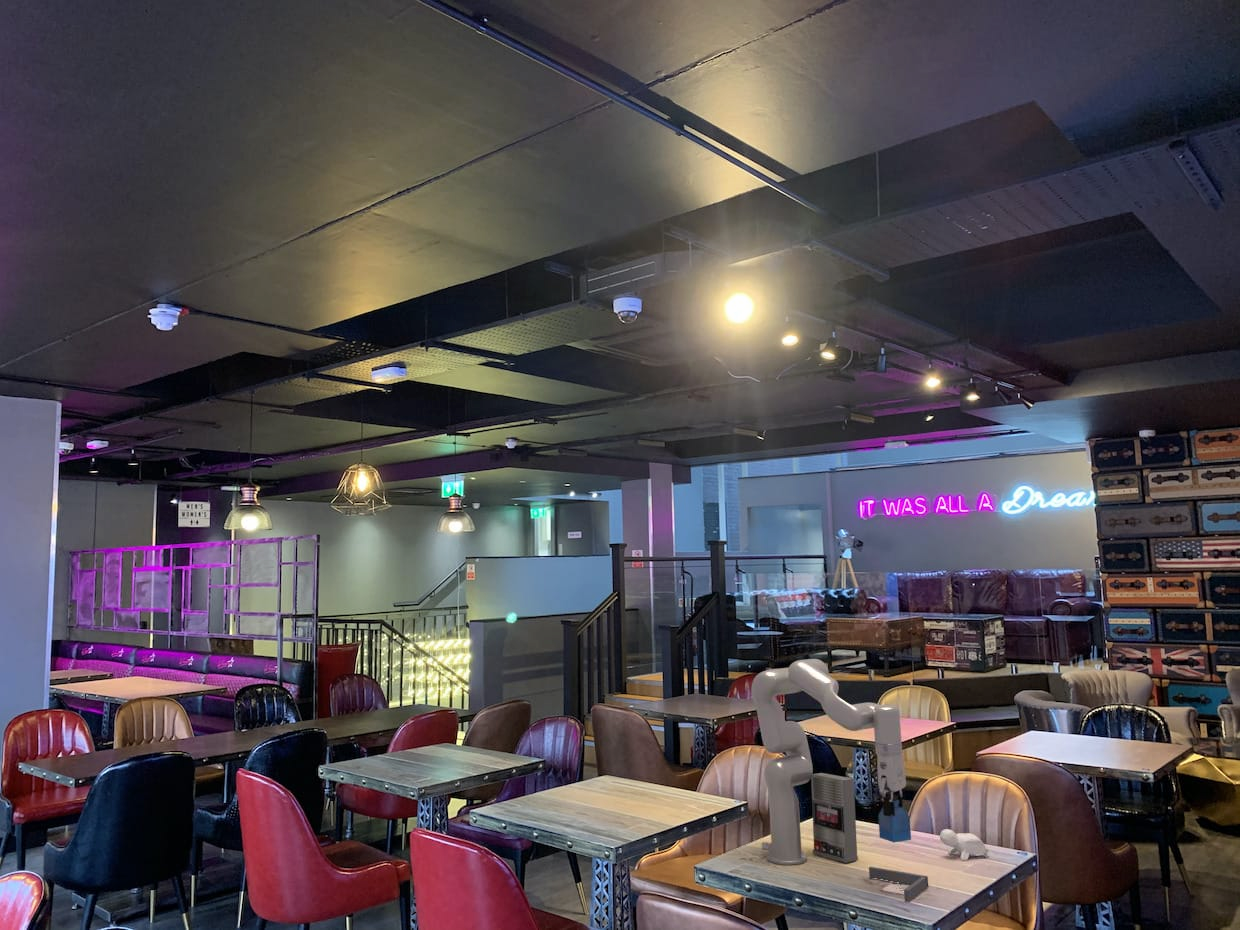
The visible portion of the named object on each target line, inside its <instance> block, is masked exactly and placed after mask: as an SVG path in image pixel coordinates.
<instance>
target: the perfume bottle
mask: <svg viewBox="0 0 1240 930" xmlns="http://www.w3.org/2000/svg"><path fill="white" fill-rule="evenodd" d="M888 795H890V793H888ZM892 802H894V809H895V816H894V817H893V815H891V816H884V814H883V807H882V808H881V809H880V811H879V813H878V816H877V819H878V830H879V831H878V832H879V838H880V839H884V840H885V841H888V842H892V843H900V842H906V841H911V840H912V833H911V831H912V830H911V819H910V818H911V817H910V816H909V814H908V812H907V811H906V810H905V808H904V807H903V808H902V807H899V806H898V804H899V799H898V795H896V794H893V801H892Z"/></svg>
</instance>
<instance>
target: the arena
mask: <svg viewBox="0 0 1240 930" xmlns="http://www.w3.org/2000/svg"><path fill="white" fill-rule="evenodd" d="M868 873H869V879H871V878H877V879H883V880H888V881H893V882H890V883H889V884H891V883H894V882H899V883H902V885H900V884H899V883H898V884H899V885H898V886H902V887H901V888H900V887H899V889H903V890H900V891H904V893H903V894H904V895H903V896H904V902H905V901H908V902H907V903H910V902H912V901H913V900H914V899H915V898H916V896H917V895H918V894H919V895H921V894H922V893H923V892H925V891H926V890H927V889H928V888H929V879H928V876H927V875H923V874H917V873H910V872H905V871H899V870H894V869H893V870H892V869H886V868H883V867H882V868H881V867H877V866H876V867H875V866H869V867H868ZM877 879H876V880H877ZM883 880H882V881H883ZM888 881H887V882H888ZM905 884H908V885H905ZM927 887H928V888H927ZM926 888H927V889H926ZM896 889H897V888H896ZM925 889H926V890H925ZM922 891H923V892H922ZM921 892H922V893H921ZM919 895H918V896H919ZM918 896H917V897H918ZM914 897H915V898H914ZM913 898H914V899H913ZM912 899H913V900H912ZM909 901H910V902H909Z"/></svg>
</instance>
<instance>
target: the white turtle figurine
mask: <svg viewBox="0 0 1240 930" xmlns="http://www.w3.org/2000/svg"><path fill="white" fill-rule="evenodd" d="M939 840H940V841H941V843H942V844H944V845H945V846H949V847H950V848H949V849H948V851H947V853H948V854H949V855H950V854H952V855H954V854H955V853H959V854H960V860H961V861H962V862H967V860H968V859H969V857H976V856H983V855H984V857H985V858H988V855H989V853H988V852H989V850H990V849H989V848H987V847H986V845H985V844H984V842H983V840H981V839H980V838H979V837H978V836H977V835H976V834H973V833H969V832H968V833H967V832H966V833H960V832H959V833H958V832H957V833H955V831H953V830H952V829H950V828H946V829H945V828H944V829H942V830H941V832H940V834H939Z"/></svg>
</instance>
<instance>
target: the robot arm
mask: <svg viewBox="0 0 1240 930" xmlns="http://www.w3.org/2000/svg"><path fill="white" fill-rule="evenodd" d="M839 689H840V688H839V683H838V681H837V680H836V679H835V678H833V677H832V676H830V672H829V668H828V666H827V665H826V663H825V662H824V661H822V660H820V659H819V658H808V659H799V660H795V661H794V662H792V663H791V664H790V665H789V666H788V667H783V668H782V667H781V668H772V669H771V668H770V669H766V670H764V671H761V672H759V673H758V674H757V675H756V676H755V677H754V679H753V680H752V683H751V697H752V701H753V703H754V706H755V710H756V713H757V718H758V725H759V729H760V733H761V734H760V735H761V740H762V744H763V748H765V750H766V751H767V752H768V753H770V754H782V753H785V756H781V757H776V758H773V759H772V760H770V761H769V762H767V763H766V765H765V767H764V770H763V771H764V773H763V774H764V780H765V785H766V788H767V789H766V790H767V797H768V805H769V806H768V807H769V825H770V842H771V843H769V842H766V841H763V842H762V843H761V850H763V851H767V852H768V853H767V855H766V856H767V857H766V858H767V860H768V861H769V862H771V863H773V864H777V865H781V866H782V865H784V866H793V865H794V864H795V865H800V863H801V864H804V863H805V862H807V860H808V856H807V854H805V852H804V853H803V852H802V836H801V819H800V805H799V799H798V795H797V793H796V792H795V789H794V787H795V786H800V785H804V784H806V783H808V782H810V780H811V777H812V774H814V773H813V772H814V771H813V770H814V769H813V762H812V758H811V757H812V755H811V751H810V747H809V743H808V738H807V735H806V732H805V730H804V728H803V727H802V726H801V725H800V723H798V722H797V721H794V720H786V719H785V715H784V711H783V707H782V705H781V704H780V702H779V700H777V698H776V697H777V696H780V695H789V694H796V693H800V692H802V691H803V692H804V693H806V694H808V695H809V696H811V697H812V698H813V699H815V700H816V701H818V703H820V705H821V707H822V710H823V711H824V712H825V714H826V716H827V717H828V719H830V720H832V721H834V723H836V724H837V725H839V726H840V727H842V728H843V729H845V730H847V731H850V732H858V731H861V730H862V731H863V730H868V729H873V730H874V732H873V734H874V745H875V746H874V748H875V754H876V755H877V763H876V764H877V786H878V789H879V794H880V796H881V801H882V808H883V814H884V816H891V815H893V817H894V816H895V809H894V802H892V801H893V794H896V795H898V799H899V804H898V806H899V807H902V808H904V805H903V789H904V788H905V787H906V786H907V780H906V777H907V776H906V770H905V764H904V763H905V762H904V758H903V745H902V731H901V730H902V729H901V728H902V727H901V717H900V716H901V715H900V709H899V708H898V707H897V706H896V705H889V704H878V703H875V702H868V701H867V702H862V703H861V702H860V703H854V704H850V703H848V702H846V701H845V700H844V699H842V698H841V697H839V696H838V693H839ZM888 794H890V795H888Z"/></svg>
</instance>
